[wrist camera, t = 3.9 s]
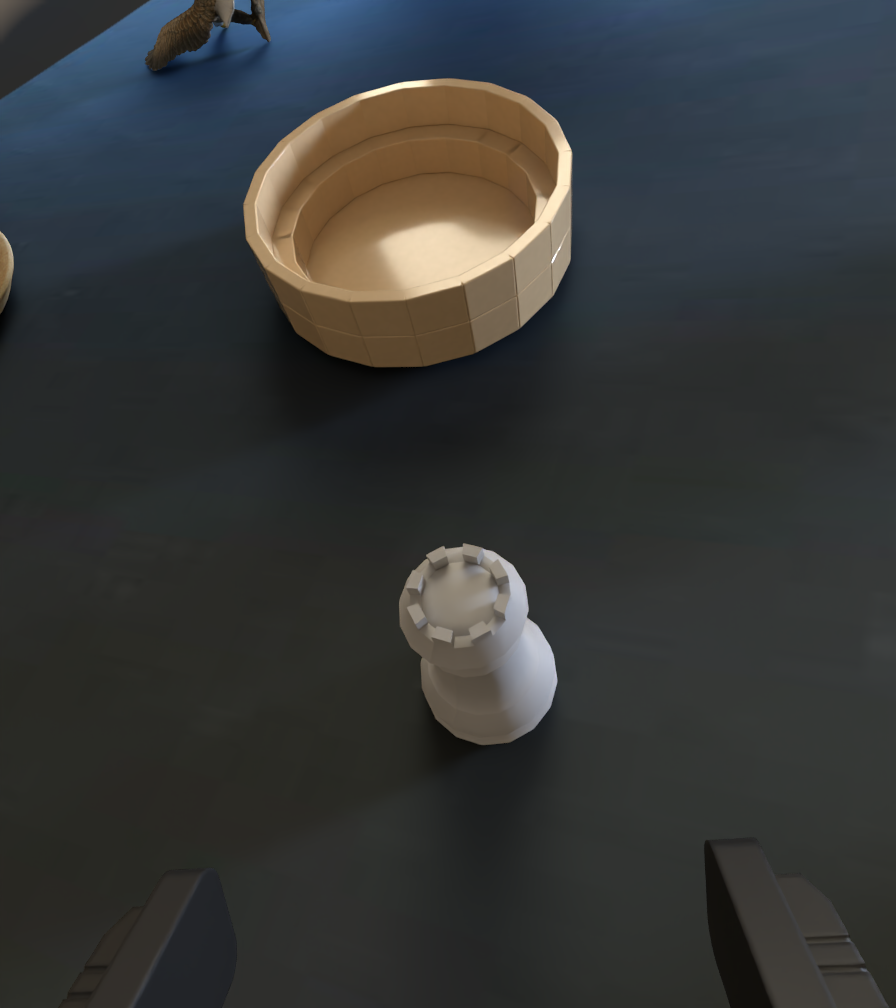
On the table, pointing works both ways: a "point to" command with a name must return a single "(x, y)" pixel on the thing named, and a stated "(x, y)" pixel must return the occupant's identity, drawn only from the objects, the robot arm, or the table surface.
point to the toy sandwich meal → (5, 270)
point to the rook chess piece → (477, 645)
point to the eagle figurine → (201, 28)
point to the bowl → (414, 221)
